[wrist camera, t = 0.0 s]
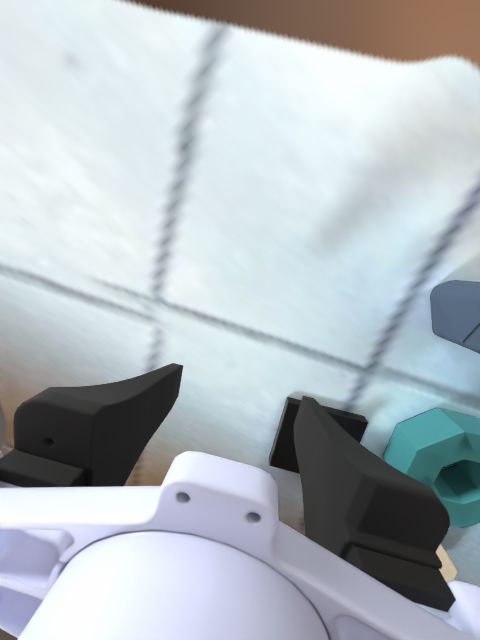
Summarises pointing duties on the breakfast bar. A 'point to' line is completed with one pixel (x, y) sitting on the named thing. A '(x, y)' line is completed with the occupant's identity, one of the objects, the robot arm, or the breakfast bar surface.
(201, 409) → the breakfast bar surface
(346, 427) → the peg stand
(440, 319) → the vaping device
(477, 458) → the teal ring
